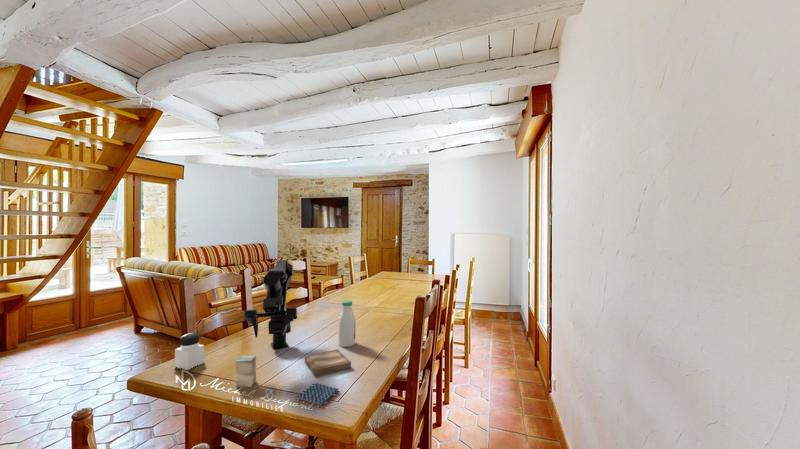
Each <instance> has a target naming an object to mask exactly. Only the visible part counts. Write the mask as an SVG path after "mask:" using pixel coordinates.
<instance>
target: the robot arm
mask: <svg viewBox="0 0 800 449" xmlns="http://www.w3.org/2000/svg"><path fill="white" fill-rule="evenodd" d="M293 276H294V267H293V264H291V263H289V261H288V260H287V259H280V260H277V261H276V263H275V265H274V268H270V269H268V271H267V272H266V273H265V275H264V277H263V284H264V288H265V290H266V296H265V298H263V300H262V309H263V311H258V310H257V308H253V309H252V308H251V309H246V310H245V311H244V314H243V315H244V319H245V320H246V322H248V323H249V324H252V327H253V331H254V337H255V338H258V335H259V333H258V332H259V318H270V320H269V321H268V335H272V342H270V346H271V348H272V349H273V350H276V349H281V348H285V347H286V348H287V347H289V344H288V343H287V334H289V333H291V331H292V325H291V323H292V322H294V320H297V319H298V309H297V307H295V306H292V307H287V296H288V295H287V294H288V286H289V284H290V283H291V282H292V278H293Z"/></svg>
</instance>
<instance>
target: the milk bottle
mask: <svg viewBox="0 0 800 449" xmlns="http://www.w3.org/2000/svg"><path fill="white" fill-rule="evenodd" d="M341 304H342V305H341V307H342V310H341V312H340V314H339V318H338V342H337V343H338V345H339V347H342V348H349V347H353V346H355V344H356V315H355V313H354V311H353V301H352V300H343V301H342V302H341Z"/></svg>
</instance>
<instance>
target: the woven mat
mask: <svg viewBox="0 0 800 449" xmlns="http://www.w3.org/2000/svg"><path fill="white" fill-rule="evenodd" d="M340 392H341V391H340V390H339V388H337V387H334V386H331V385H330V386H329V385H325V384H321V383H320V384H319V383H312V385H309V386H308V388H306V389H305V390H303V391H302V392H300V393H299V395H296V396H295V397H296V399H295V401H296V403H297V402H300V403H302V404H306V405H307V406H308V407H309V406H312V407H313V406H314V407H317V408H320V409H324V407H325V406H327V405H328V403H330V402H331V401H332V400H333V399H334V398H335V397H337V396H338V394H340Z"/></svg>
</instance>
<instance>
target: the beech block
mask: <svg viewBox="0 0 800 449" xmlns="http://www.w3.org/2000/svg"><path fill="white" fill-rule="evenodd" d="M235 364H236V365H235V370H236V371H235V372H236V373H235V375H236V377H235V379H236V380H235V387H236V388H251V387H253V385H254V384H255V383H256V382H257V355H241V356H239V358H238V359H237V360H236V361H235Z"/></svg>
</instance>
